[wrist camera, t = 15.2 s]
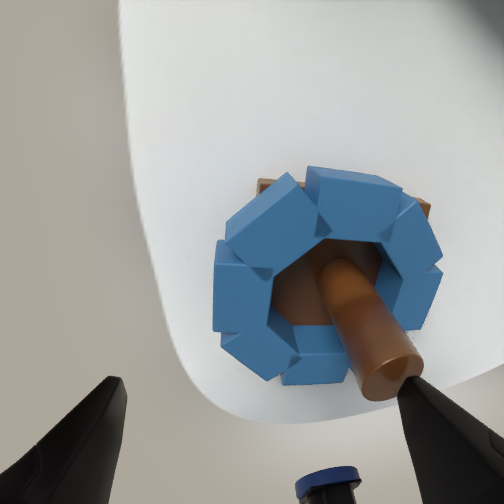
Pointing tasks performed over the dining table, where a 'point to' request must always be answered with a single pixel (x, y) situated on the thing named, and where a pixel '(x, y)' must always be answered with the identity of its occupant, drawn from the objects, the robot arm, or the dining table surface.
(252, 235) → the blue ring
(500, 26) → the dining table surface
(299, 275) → the peg stand
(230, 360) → the dining table surface
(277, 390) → the dining table surface
